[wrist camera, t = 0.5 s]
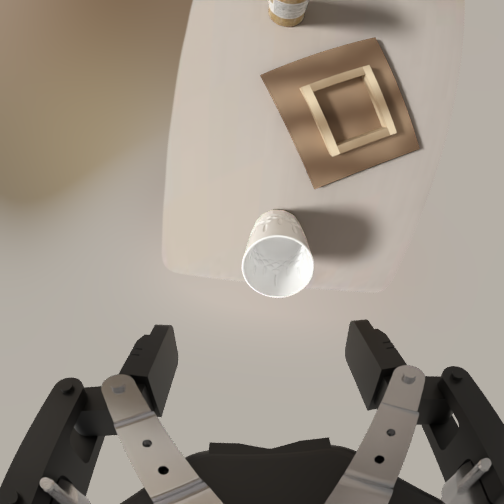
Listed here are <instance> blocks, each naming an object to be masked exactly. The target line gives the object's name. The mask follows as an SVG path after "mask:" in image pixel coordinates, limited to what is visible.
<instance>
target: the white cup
mask: <svg viewBox="0 0 504 504" xmlns="http://www.w3.org/2000/svg"><path fill="white" fill-rule="evenodd" d="M313 272H314V260H313V256H312V254H311V251H310V248H309V245H308V242H307V239H306V236H305V234H304V232H303V230H302V228H301V225H300V223H299V222H298V220H297V219H296V217H295V216H294V215H292V214H291V213H289V212H287V211H285V210H271V211H268V212H266V213H263V214H262V215H261V216H260V217H259V218H258V219H257V220H256V222H255V225H254V228H253V230H252V232H251V234H250V237H249V240H248V243H247V247H246V250H245V253H244V257H243V260H242V273H243V276H244V278H245V280H246V282H247V283H248V285H249V286H250V287H251V288H252V289H253V290H255V291H256V292H258V293H260V294H262V295H264V296H268V297H274V298H282V297H288V296H291V295H294V294H296V293H298V292H299V291H301V290H302V289H303V288H305V287H306V286H307V284H308V283H309V282H310V280H311V278H312V276H313Z"/></svg>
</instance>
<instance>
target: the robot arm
mask: <svg viewBox="0 0 504 504" xmlns="http://www.w3.org/2000/svg"><path fill="white" fill-rule="evenodd" d="M345 357H346V361H347V363H348V366H349V368H350V370H351V373H352V375H353V377H354V379H355V382H356V384H357V386H358V389H359V391H360V394H361V396H362V398H363V401H364V403H365V405H366V408H367V410H372V409H377V412H376V414H375V416H374V419H373V421H372V423H371V425H370V427H369V429H368V431H367V433H366V435H365V437H364V439H363V441H362V443H361V445H360V446H359V448H358V450H357V452H356V451H354V450H351V449H349V448H345V447H341V446H336V445H331V444H330V441H329V438H322V439H313V440H304V441H298V442H295V443H291V444H288V445H284V446H280V447H277V448H273V449H266V448H260V447H254V446H249V445H244V444H239V443H238V444H236V443H210V445H209V450H208V451H203V452H198V453H196V454H192V455H190V456H188V457H186V458H184V456H183V455H182V453H181V452H180V451H179V450H178V448H177V446H176V445H175V443H174V442H173V441H172V439H171V438H170V436H169V435H168V433H167V432H166V430H165V429H164V427H163V426H162V424H161V422H160V421H159V419H158V417H161V416H162V413H163V410H164V407H165V403H166V400H167V397H168V393H169V390H170V387H171V384H172V380H173V378H174V374H175V371H176V368H177V365H178V351H177V346H176V341H175V336H174V330H173V327H172V326H171V325H155V326H154V328H153V330H152V332H151V334H150V335H144V336H142V337H141V338H140V339H139V340H137V342H136V344H135V345H134V347H133V349H132V351H131V353H130V355H129V356H128V358H127V360H126V362H125V364H124V366H123V367H122V369H121V371H120V373H119V374H117V375H113V376H110V377H109V378H107V379H106V380H105V381H104V382H103V383H102V386H100V387H87V388H84V386H83V384H82V382H81V381H80V380H78V379H76V378H65V379H63V380H61V381H59V382H58V383H57V384H56V385H55V386H54V388H53V389H52V391H51V393H50V394H49V396H48V397H47V399H46V401H45V402H44V404H43V406H42V407H41V409H40V411H39V413H38V414H37V416H36V418H35V420H34V421H33V423H32V425H31V427H30V428H29V430H28V432H27V434H26V436H25V438H24V440H23V441H22V443H21V445H20V447H19V449H18V451H17V453H16V455H15V457H14V459H13V461H12V463H11V465H10V468H9V469H8V472H7V474H6V476H5V478H4V480H3V483H2V485H1V487H0V504H91V503H90V501H89V500H88V499H87V498H86V493H87V490H88V486H89V483H90V480H91V477H92V474H93V470H94V467H95V464H96V461H97V458H98V455H99V452H100V449H101V446H102V443H103V440H104V437H105V436H106V435H118V436H119V438H120V441H121V443H122V445H123V447H124V449H125V452H126V453H127V456H128V458H129V459H130V462H131V464H132V465H133V467H134V469H135V471H136V473H137V475H138V477H139V479H140V480H141V482H142V484H143V486H144V488H143V489H141V490H140V491H138V492H137V493H136V494H134V495H133V496H131V497H130V498H128V499H127V500H125V501H123V502H122V503H120V504H504V424H503V423H502V421H501V419H500V418H499V416H498V415H497V413H496V412H495V410H494V409H493V407H492V406H491V404H490V403H489V401H488V400H487V399H486V397H485V396H484V394H483V393H482V391H481V390H480V389H479V387H478V386H477V384H476V383H475V382H474V380H473V379H472V377H471V376H470V375H469V373H468V372H467V371H465V370H464V369H462V368H460V367H455V366H451V367H447V368H446V369H444V371H443V373H442V375H441V377H427V376H425V375H424V373H423V372H422V371H421V370H420V369H419V368H417V367H414V366H410V365H407V364H406V363H405V361H404V360H403V358H402V357H401V356H400V354H399V353H398V351H397V350H396V348H394V345H393V344H392V343H391V342H390V340H389V338H388V337H387V335H386V334H385V333H383V332H382V331H380V330H379V329H374V328H373V327H372V326H371V324H370V323H369V321H368V320H358V321H351V322H350V326H349V332H348V337H347V342H346V348H345ZM453 413H454V415H455V417H456V418H457V420H458V423H459V427H458V425H457V424H456V422H455V420H454V418H453V416H452V414H453ZM417 424H420V425H422V427H423V430H424V432H425V434H426V436H427V438H428V441H429V443H430V445H431V448H432V450H433V452H434V455H435V457H436V460H437V462H438V464H439V467H440V470H441V472H442V475H443V477H444V480H445V482H446V483H445V484H444V486H443V488H442V498H441V500H440V499H438V498H436V497H434V496H432V495H430V494H428V493H426V492H424V491H422V490H421V489H419V488H417V487H415V486H413V485H411V484H410V483H408V482H406V481H404V480H402V479H401V478H399V477H398V475H399V473H400V470H401V467H402V465H403V462H404V460H405V457H406V454H407V452H408V449H409V446H410V443H411V440H412V437H413V434H414V430H415V427H416V425H417Z"/></svg>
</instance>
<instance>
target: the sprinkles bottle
mask: <svg viewBox="0 0 504 504" xmlns="http://www.w3.org/2000/svg"><path fill="white" fill-rule="evenodd" d="M308 2H309V0H268V3H269V16H270V18H271V19H272V20H273V21H274V22H275V23H277V24H278V25H281V26H286V27H290V26H295V25H297V24H299V23H300V22H301V21H302V20H303V18H304V14H305V13H304V12H305V11H306V8H307V5H308Z"/></svg>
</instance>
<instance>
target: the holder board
mask: <svg viewBox="0 0 504 504" xmlns="http://www.w3.org/2000/svg"><path fill="white" fill-rule="evenodd" d="M260 76H261V78H262V80H263V82H264V84H265V85H266V87H267V89H268V91H269V93H270V95H271V97H272V99H273V101H274V103H275V105H276V107H277V109H278V111H279V113H280V115H281V117H282V119H283V121H284V123H285V125H286V127H287V129H288V131H289V133H290V136H291V138H292V140H293V142H294V144H295V146H296V148H297V151H298V153H299V155H300V157H301V160H302V162H303V164H304V166H305V169H306V171H307V173H308V176H309V178H310V180H311V183H312V185H313V187H314V189H316V188H319V187H321V186H324V185H326V184H329V183H331V182H334V181H336V180H339V179H341V178H344V177H346V176H349V175H352V174H354V173H357V172H359V171H362V170H364V169H367V168H370V167H372V166H375V165H377V164H380V163H383V162H385V161H388V160H391V159H393V158H396V157H399V156H402V155H404V154H407V153H410V152H412V151H415V150H418V149H420V148H419V144H418V141H417V138H416V135H415V131H414V128H413V125H412V122H411V119H410V116H409V114H408V111H407V108H406V105H405V103H404V100H403V97H402V95H401V92H400V90H399V87H398V85H397V82H396V80H395V78H394V75H393V73H392V71H391V68H390V66H389V64H388V62H387V60H386V58H385V56H384V53H383V51H382V49H381V47H380V45H379V43H378V42H377V40H376V38H370V39H366V40H362V41H358V42H354V43H351V44H347V45H343V46H340V47H336V48H333V49H330V50H327V51H323V52H320V53H317V54H314V55H311V56H308V57H306V58H303V59H300V60H297V61H294V62H292V63H289V64H287V65H284V66H281V67H279V68H276V69H274V70H271V71H269V72H267V73H264V74H262V75H260Z"/></svg>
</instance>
